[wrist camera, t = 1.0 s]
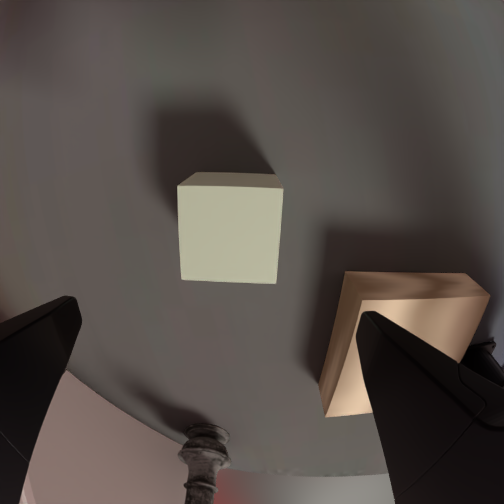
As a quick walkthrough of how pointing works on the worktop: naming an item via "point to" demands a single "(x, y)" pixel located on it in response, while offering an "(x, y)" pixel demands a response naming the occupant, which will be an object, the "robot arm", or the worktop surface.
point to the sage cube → (230, 227)
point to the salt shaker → (203, 461)
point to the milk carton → (100, 455)
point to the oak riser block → (405, 315)
